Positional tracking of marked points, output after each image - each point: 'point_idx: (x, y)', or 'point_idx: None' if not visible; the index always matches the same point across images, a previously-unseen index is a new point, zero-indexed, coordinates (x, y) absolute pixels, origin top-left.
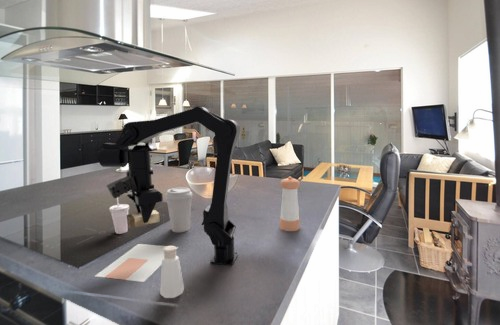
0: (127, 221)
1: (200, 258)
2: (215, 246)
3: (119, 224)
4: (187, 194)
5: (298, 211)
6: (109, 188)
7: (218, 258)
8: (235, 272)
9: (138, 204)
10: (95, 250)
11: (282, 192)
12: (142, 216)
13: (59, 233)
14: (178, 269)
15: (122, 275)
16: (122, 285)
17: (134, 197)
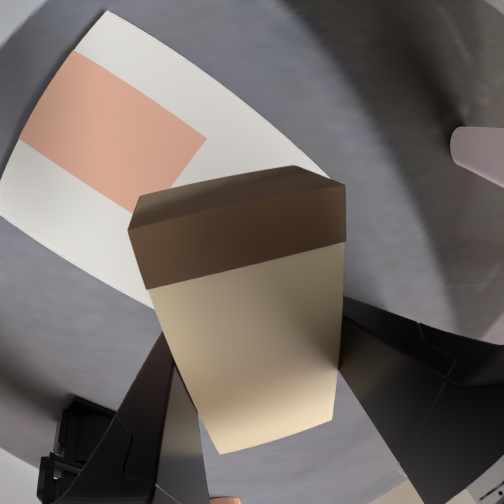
0: (285, 173)
1: (112, 382)
2: (64, 448)
3: (482, 145)
4: (406, 476)
5: None
6: None
7: (59, 422)
8: (32, 418)
9: None
10: (370, 28)
11: None
12: (137, 379)
13: (498, 8)
14: None
15: (50, 119)
16: (3, 129)
17: (501, 427)
